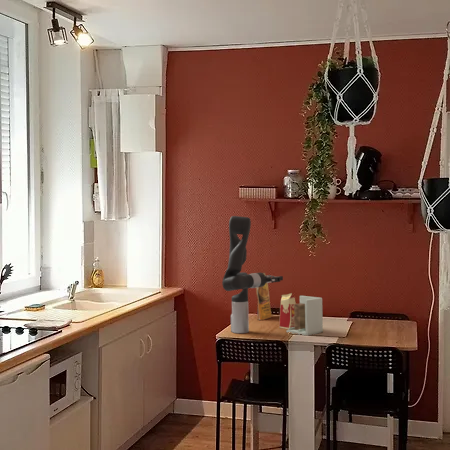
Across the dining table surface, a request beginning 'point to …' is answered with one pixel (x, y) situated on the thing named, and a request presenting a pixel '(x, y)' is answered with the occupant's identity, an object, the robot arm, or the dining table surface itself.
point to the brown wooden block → (299, 316)
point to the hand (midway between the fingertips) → (276, 277)
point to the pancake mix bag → (263, 302)
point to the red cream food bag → (287, 311)
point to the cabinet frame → (311, 316)
